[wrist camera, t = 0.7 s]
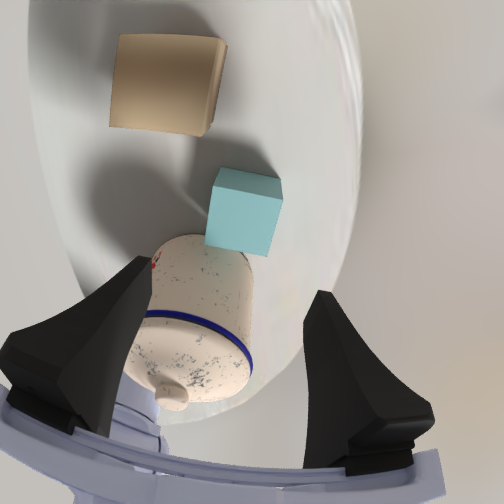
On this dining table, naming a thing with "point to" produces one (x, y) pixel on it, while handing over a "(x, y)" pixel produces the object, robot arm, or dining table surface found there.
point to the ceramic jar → (195, 325)
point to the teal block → (243, 211)
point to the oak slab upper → (165, 82)
